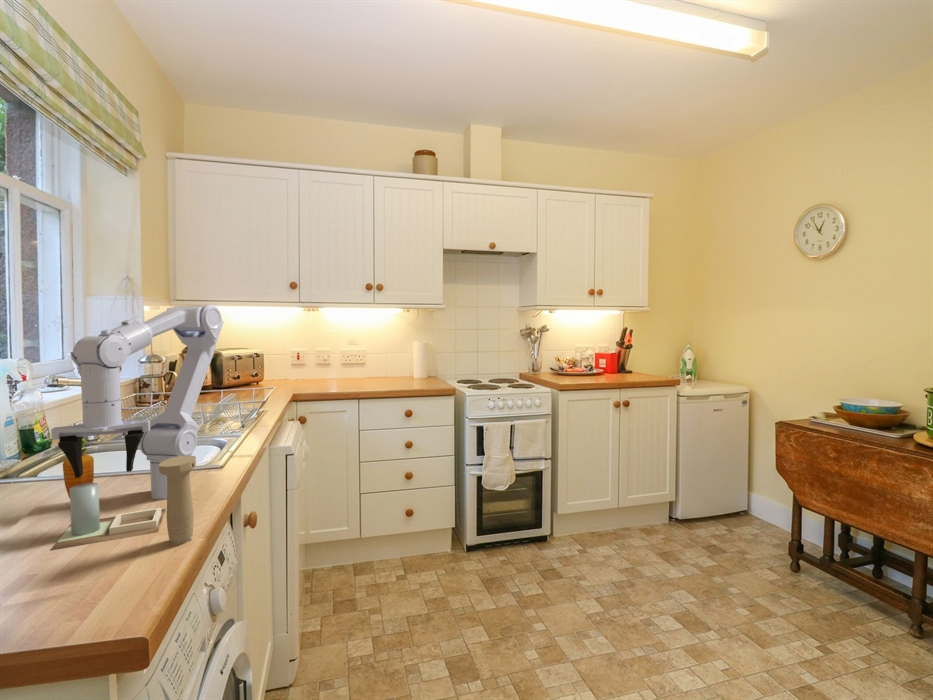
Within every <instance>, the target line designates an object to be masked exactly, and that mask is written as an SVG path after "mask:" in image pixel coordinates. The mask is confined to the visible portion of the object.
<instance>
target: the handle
mask: <svg viewBox="0 0 933 700" xmlns="http://www.w3.org/2000/svg"><path fill="white" fill-rule="evenodd" d="M196 465H197V457H196V455H192V456H178V457H174V458H170V459H167V460H165V461H163V462H161V463H160V464H159V472H160V473H161V474H163V475H166V476H167V499H166V524H167V525H166V526H167V535H168V539H169V542H170V546H183V545H184V544H188V543H190V542H192V541H193V538H192V536H193V535H194V525H195V524H194V523H195V522H194V520H195V518H194V506H193V497H192V496H193V495H192V486H191V476H190V475H191V472H192V471H193V470H194V469H195V468H196Z"/></svg>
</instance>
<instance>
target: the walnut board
mask: <svg viewBox="0 0 933 700" xmlns="http://www.w3.org/2000/svg"><path fill="white" fill-rule="evenodd" d="M166 511H167V508H161V516H160V519H159V522H158V525H157V527H154V528H148V529H142V530H136V531H130V532H124V533H118V534H112V535H109V529H108V530H107V532H106V534H105V535H103V536H97V537H91V538H86V539H80V540H74V541H68V542H62V543H57V542H58V540H59V539H60V538H61V537H62V535H63V534H64V533H65V531H66V530H67V529H68V528H69V527H71V523H70V524H69V526H68V527H67V528H66V529H65V531H64V532H63V533H62V535H61V536H60V537H59V538H58V540H57V541H56V542H55V543H54V544H53V546H52V547H51V548H50V550H49V551H51V552H52V551H57V550H62V549H63V550H64V549H68V548H73V547H79V546H85V545H91V544H95V543H103V542H108V541H109V542H110V541H115V540H119V539H126V538H132V537H137V536H142V535H143V536H144V535H149V534H155V533H159V531H160V528H161V525H162V521H163V518H164V515H165V512H166ZM116 516H117V515H116ZM116 516H110V517H103V518H100V523H101V522H107V521H112V523H113V521H114V519H115V517H116ZM153 517H154V516H151V517H144V518H138V519H132V520H125V521H121V523H120V525H124V524H131V523H137V522H143V521H149V520H153ZM112 523H111V524H112ZM110 526H111V525H110ZM109 528H110V527H109Z"/></svg>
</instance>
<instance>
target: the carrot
mask: <svg viewBox="0 0 933 700" xmlns="http://www.w3.org/2000/svg"><path fill="white" fill-rule="evenodd" d="M88 441H89V440H86V439H85V438H82V464H83V475H82V476H81V477H79V478H75V474H74V471H73V468H72V466H71V464H70V462H69V460H68V458H67V457H66V459H64V461H63V462H62V472H63V480H64V481H63V482H64V486H65V489H66V492H67V496H68V498H69V499H70V488H71V487H73V486H76V485H80V484H86V483H94V475H95V471H94V470H95V469H94V468H95V467H94V465H95V463H94V462H95V461H94V457H93V456H92V455H89V454H86V453H85V452H86V451H87V450H88V447H84V446H85V445H86V444H87V443H88ZM84 453H85V454H84Z"/></svg>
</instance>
